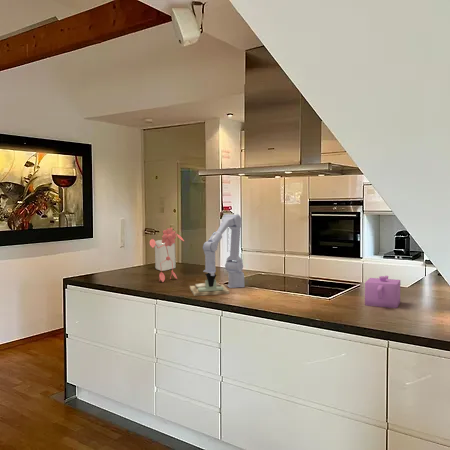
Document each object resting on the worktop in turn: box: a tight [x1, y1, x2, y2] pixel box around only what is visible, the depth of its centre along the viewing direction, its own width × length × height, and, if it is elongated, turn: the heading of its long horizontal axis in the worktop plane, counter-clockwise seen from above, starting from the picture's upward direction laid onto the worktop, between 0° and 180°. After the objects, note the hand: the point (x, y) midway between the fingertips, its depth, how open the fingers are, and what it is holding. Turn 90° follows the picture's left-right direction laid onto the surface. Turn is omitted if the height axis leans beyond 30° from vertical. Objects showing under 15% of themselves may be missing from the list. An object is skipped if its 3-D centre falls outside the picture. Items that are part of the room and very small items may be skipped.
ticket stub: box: [198, 278, 223, 292], centre depth 268 cm, size 14×5×6 cm, turn 101°
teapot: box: [364, 275, 401, 309], centre depth 237 cm, size 15×25×14 cm, turn 153°
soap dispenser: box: [154, 239, 177, 272], centre depth 352 cm, size 15×14×22 cm
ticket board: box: [189, 282, 230, 297], centre depth 274 cm, size 20×20×3 cm
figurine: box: [149, 227, 185, 284], centre depth 303 cm, size 15×26×35 cm, turn 136°
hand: (210, 286), depth 267 cm, fingers closed on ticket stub
